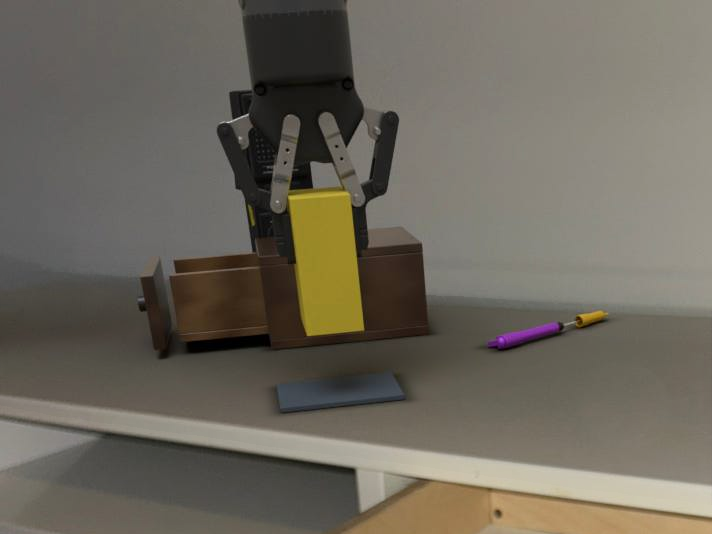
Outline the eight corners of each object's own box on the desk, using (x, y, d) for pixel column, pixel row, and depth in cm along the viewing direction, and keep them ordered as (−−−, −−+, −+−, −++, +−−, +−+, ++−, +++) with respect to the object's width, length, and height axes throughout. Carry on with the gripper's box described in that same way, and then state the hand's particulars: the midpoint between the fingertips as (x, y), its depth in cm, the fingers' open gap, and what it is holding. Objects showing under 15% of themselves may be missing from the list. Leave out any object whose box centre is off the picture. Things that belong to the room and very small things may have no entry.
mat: (281, 412, 85) (280, 408, 85) (276, 388, 92) (276, 383, 92) (405, 399, 86) (404, 394, 86) (391, 376, 93) (391, 371, 93)
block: (307, 336, 83) (289, 198, 78) (301, 319, 89) (284, 190, 85) (364, 331, 84) (350, 194, 79) (354, 314, 90) (341, 186, 85)
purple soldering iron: (503, 348, 99) (611, 318, 109) (501, 335, 99) (609, 307, 108) (484, 352, 101) (592, 322, 111) (481, 339, 100) (590, 310, 110)
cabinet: (271, 349, 105) (258, 256, 101) (266, 322, 117) (254, 238, 113) (428, 334, 107) (422, 242, 103) (408, 309, 119) (401, 226, 115)
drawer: (141, 351, 103) (126, 277, 100) (149, 326, 114) (136, 258, 111) (305, 335, 106) (295, 263, 102) (297, 312, 116) (289, 245, 113)
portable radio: (263, 321, 118) (226, 64, 106) (250, 312, 123) (212, 65, 111) (331, 311, 121) (302, 60, 109) (315, 303, 125) (286, 61, 114)
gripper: (386, 7, 81) (406, 246, 89) (193, 17, 78) (231, 261, 86) (400, 0, 74) (420, 259, 82) (190, 11, 72) (232, 276, 80)
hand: (323, 258), depth 84 cm, fingers closed on block, 4 cm apart
